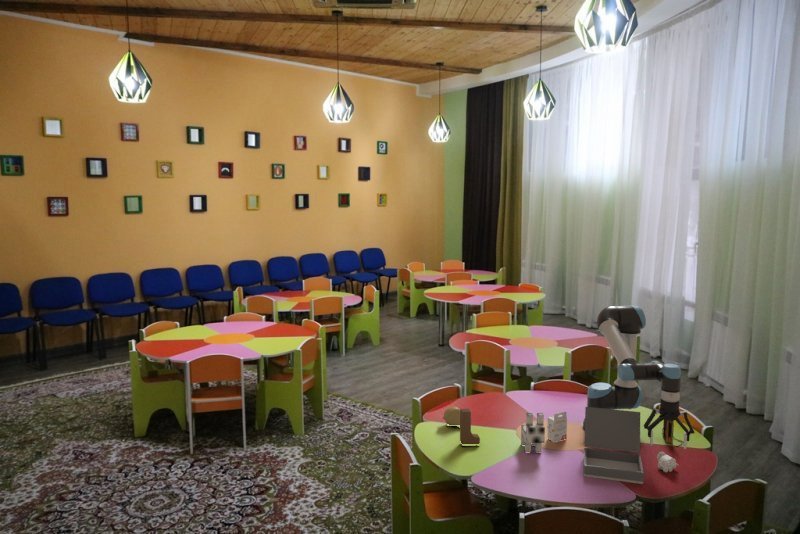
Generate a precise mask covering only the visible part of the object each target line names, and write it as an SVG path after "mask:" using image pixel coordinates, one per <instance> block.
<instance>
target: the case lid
mask: <svg viewBox="0 0 800 534" xmlns="http://www.w3.org/2000/svg"><path fill="white" fill-rule="evenodd" d="M584 408H585V409H584V411H585V412H584V413H585V414H584V415H585V417H584V419H585V429H584V440H583V441H584V443H583V444H584V445H583V446H584V448H593V449H602V450H610V451H619V452H627V453H636V454H640V453H641V411H633V410H625V409H603V408H593V407H587V406H585V407H584Z"/></svg>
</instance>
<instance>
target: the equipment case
mask: <svg viewBox="0 0 800 534" xmlns="http://www.w3.org/2000/svg"><path fill="white" fill-rule="evenodd" d="M643 468H644V467H643V463H642V457H641V454H640V453H633V452H625V451H616V450H608V449H599V448H591V447H584V449H583V477H586V478H594V479H601V480H610V481H617V482H624V483H632V484H640V485H644V477H645V476H644V475H645V472H644V469H643Z"/></svg>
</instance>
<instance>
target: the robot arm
mask: <svg viewBox="0 0 800 534" xmlns="http://www.w3.org/2000/svg"><path fill="white" fill-rule="evenodd" d="M646 319H647V318H646V314H645V311H644V310H643V308H641V307H640V306H639V305H638V306H637V305H615V306H614V305H610V306H605V308H603V309H601V311H599V313H598V315H597V318H596V326H597V329H598V331H599V333H600V334H602V335H603V337H604V338H605V341H606V342H607V344H608V346H609V348H610V350H611V351H612V354H613V355H614V357H615V360H616V361H617V370H616V371H617V378H616V379H615V380H614V382H613V386H612V385H611V384H610V383H607V382H595V383H592V384H591V385H589V386H588V388H587V393H586V394H587V395H586V396H587V397H586V398H587V402H586V404H587V405H586V407H593V408H603V409H614V410H632V409H633V410H634V409H637V408H639V407H640V406H641V404H642V402H643V393H642V392H643V391H642V388H641V387H640V386H639V383H638V382H637V381H658V382H660V385H661V386H660V405H659V406H660V408H659V409H656V407H653V408H652V409H651V413H650V415H649V416H648V418H647V419H646V420H645V422H644V424H643V427H644V429H645V430H647V437H648V438H649V439H650V440H649V443H650V444H649V445H650V446H653V440H654V438H653V437H654V428H655V427H657V426H658V425H659V423H661V422H664V420H666V421H668V420H670V421H675V422H676V423H677V424H678V425H679V426H680V427H681V429H682V430H683V431H684V432H683V441H684V442H683V443H682V445H683V449H684V450H686V449H687V444H688V442H690V436H691V435H692V434H693V435H694V434H695V430H694V427H693V426H692V425H691V422H690V420H689V418H688V412H687V411H686V410H683V411H680V399H681V398H680V396H681V395H680V394H681V393H680V390H681V381H682V380H681V378H682V369H681V367H680V365H678V364H675V363H663V362H661V361H659V360H652V361H650V362H648V363H638V362H637V349H638V347H637V344H638V336H639V335H640V334H641V330H643V329H645V327H646V325H647V320H646ZM657 414H659V416H658V417H657V418H656V419H655V420H654V418H655V417H656V415H657ZM680 416H682V417H683V418H684V420H685V423H686V425H687V426H685V425H684V423H683V422H682V421H681V420H680V418H679V417H680ZM653 420H654V421H653ZM582 427H583V429H584V430H585V418H584V420H583V423H582ZM687 427H688V428H687Z"/></svg>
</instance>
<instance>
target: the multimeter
mask: <svg viewBox="0 0 800 534" xmlns="http://www.w3.org/2000/svg"><path fill="white" fill-rule="evenodd" d="M674 421H675V420H674ZM674 421H670V420H668V421H666V420H663V428H662V430H661V434H662V438H663V439H664V441H665V443H670V444H671V445H672V446H674V447H676V448H677V447H680V446H682V445H683V443H684V440H681V439H677V438H675V437H674V431H675V430H674V427H675V425H674V423H675V422H674ZM674 440H676V441H679V442H680V444H678V445H674V442H673V441H674Z"/></svg>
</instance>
